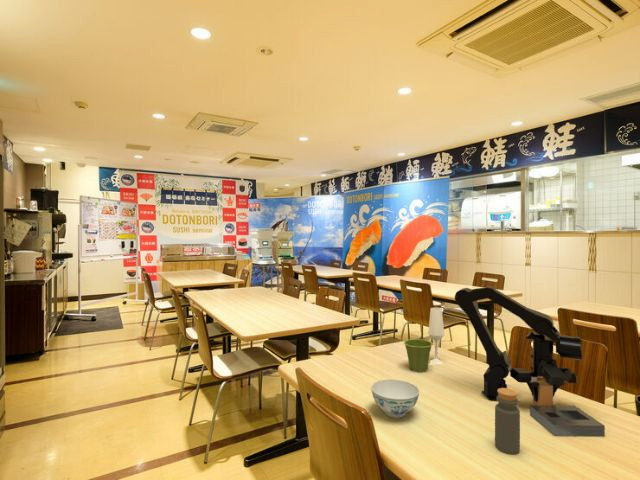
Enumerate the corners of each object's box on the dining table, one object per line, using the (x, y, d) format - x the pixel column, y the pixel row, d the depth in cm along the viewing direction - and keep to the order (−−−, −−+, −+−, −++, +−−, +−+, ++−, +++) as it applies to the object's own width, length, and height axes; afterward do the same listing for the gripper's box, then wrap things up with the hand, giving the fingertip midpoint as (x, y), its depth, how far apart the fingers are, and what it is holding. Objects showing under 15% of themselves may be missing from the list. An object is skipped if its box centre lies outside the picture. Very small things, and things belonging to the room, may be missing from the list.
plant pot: (410, 362, 161) (410, 337, 161) (436, 368, 154) (436, 341, 154) (399, 370, 151) (399, 343, 151) (427, 376, 144) (427, 348, 144)
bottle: (490, 442, 98) (490, 387, 98) (511, 441, 99) (511, 386, 98) (503, 455, 92) (503, 396, 92) (524, 454, 93) (525, 395, 93)
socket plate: (554, 435, 101) (554, 425, 101) (529, 414, 113) (529, 405, 113) (604, 436, 101) (604, 425, 101) (575, 415, 113) (575, 405, 113)
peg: (540, 410, 116) (540, 385, 116) (533, 404, 120) (533, 380, 120) (552, 410, 116) (552, 385, 116) (545, 404, 120) (545, 380, 120)
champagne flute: (444, 366, 156) (444, 310, 156) (427, 364, 158) (428, 309, 158) (444, 361, 162) (444, 307, 162) (428, 359, 165) (428, 307, 164)
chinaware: (420, 405, 119) (420, 382, 119) (417, 428, 105) (417, 402, 105) (375, 399, 124) (375, 376, 124) (366, 420, 110) (366, 394, 110)
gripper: (527, 362, 110) (527, 413, 110) (589, 362, 110) (589, 413, 110) (509, 350, 121) (509, 397, 121) (565, 350, 121) (565, 397, 121)
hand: (542, 401), depth 118 cm, fingers closed on peg, 4 cm apart
